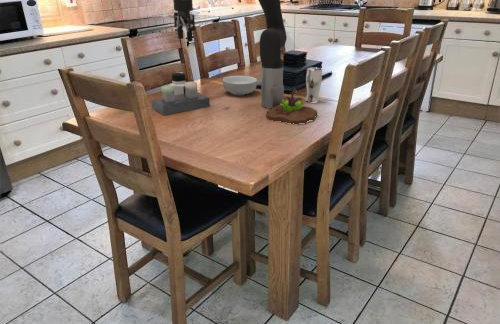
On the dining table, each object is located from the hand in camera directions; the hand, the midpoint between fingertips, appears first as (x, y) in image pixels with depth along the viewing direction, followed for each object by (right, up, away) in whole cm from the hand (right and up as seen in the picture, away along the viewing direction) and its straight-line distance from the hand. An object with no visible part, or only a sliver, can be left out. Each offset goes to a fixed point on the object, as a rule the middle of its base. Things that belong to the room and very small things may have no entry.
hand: (185, 39), depth 169 cm
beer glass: (+56, -23, +17) cm, 63 cm away
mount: (-3, -27, +9) cm, 29 cm away
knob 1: (-8, -25, +5) cm, 27 cm away
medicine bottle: (-6, -21, +22) cm, 31 cm away
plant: (+44, -32, -1) cm, 55 cm away
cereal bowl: (+22, -17, +30) cm, 41 cm away
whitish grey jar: (+1, -23, +11) cm, 25 cm away
